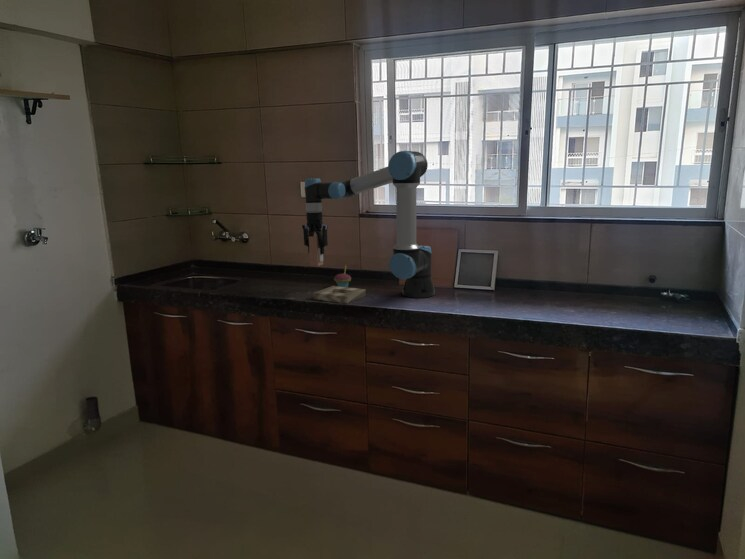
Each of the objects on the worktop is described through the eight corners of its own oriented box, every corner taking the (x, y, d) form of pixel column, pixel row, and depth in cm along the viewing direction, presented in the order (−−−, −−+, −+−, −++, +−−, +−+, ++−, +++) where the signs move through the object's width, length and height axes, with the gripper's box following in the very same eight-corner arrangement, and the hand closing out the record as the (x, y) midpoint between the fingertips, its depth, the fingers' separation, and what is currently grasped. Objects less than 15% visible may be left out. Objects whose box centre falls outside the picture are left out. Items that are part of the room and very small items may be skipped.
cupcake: (352, 285, 264) (351, 262, 262) (350, 289, 256) (349, 265, 254) (335, 285, 265) (334, 262, 263) (332, 289, 257) (332, 265, 254)
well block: (365, 295, 243) (365, 289, 242) (347, 303, 229) (347, 296, 229) (333, 291, 252) (333, 285, 251) (313, 299, 238) (313, 292, 237)
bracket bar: (323, 264, 252) (322, 235, 249) (318, 266, 248) (316, 236, 245) (315, 264, 254) (314, 235, 251) (310, 265, 250) (308, 236, 247)
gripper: (334, 211, 245) (336, 260, 250) (303, 210, 253) (306, 258, 258) (325, 212, 239) (327, 262, 243) (294, 212, 247) (297, 260, 252)
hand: (316, 260), depth 251 cm, fingers closed on bracket bar, 4 cm apart
